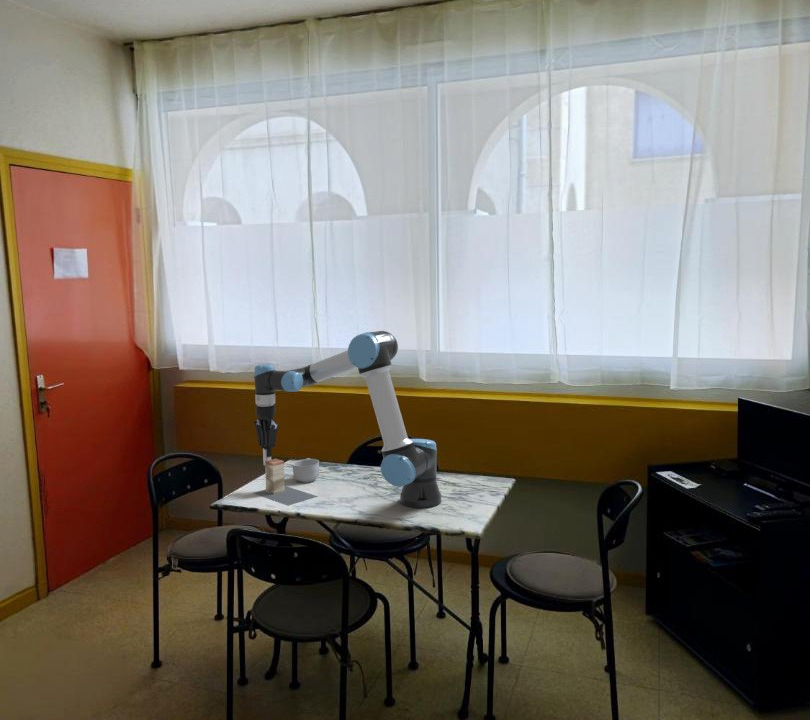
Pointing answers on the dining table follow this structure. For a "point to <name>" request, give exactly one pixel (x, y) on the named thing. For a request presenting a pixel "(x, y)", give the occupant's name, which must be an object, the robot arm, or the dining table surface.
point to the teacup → (306, 470)
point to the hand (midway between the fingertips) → (267, 464)
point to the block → (274, 476)
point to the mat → (287, 496)
